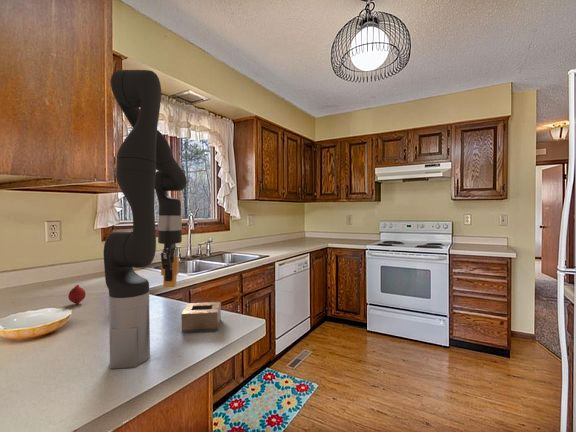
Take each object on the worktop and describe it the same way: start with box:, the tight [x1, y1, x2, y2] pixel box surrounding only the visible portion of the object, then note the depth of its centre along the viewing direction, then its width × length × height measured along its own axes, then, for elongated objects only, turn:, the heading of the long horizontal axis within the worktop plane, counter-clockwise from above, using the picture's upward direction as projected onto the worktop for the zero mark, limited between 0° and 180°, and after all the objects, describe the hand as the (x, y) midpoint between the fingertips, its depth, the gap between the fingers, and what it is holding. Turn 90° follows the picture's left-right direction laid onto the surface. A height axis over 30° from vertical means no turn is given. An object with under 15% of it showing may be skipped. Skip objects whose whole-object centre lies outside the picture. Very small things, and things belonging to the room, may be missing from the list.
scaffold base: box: [181, 301, 222, 334], centre depth 102 cm, size 11×11×6 cm
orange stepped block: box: [160, 255, 180, 288], centre depth 104 cm, size 3×5×10 cm, turn 97°
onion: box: [67, 284, 87, 305], centre depth 126 cm, size 6×6×8 cm
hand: (170, 279), depth 104 cm, fingers closed on orange stepped block, 3 cm apart
